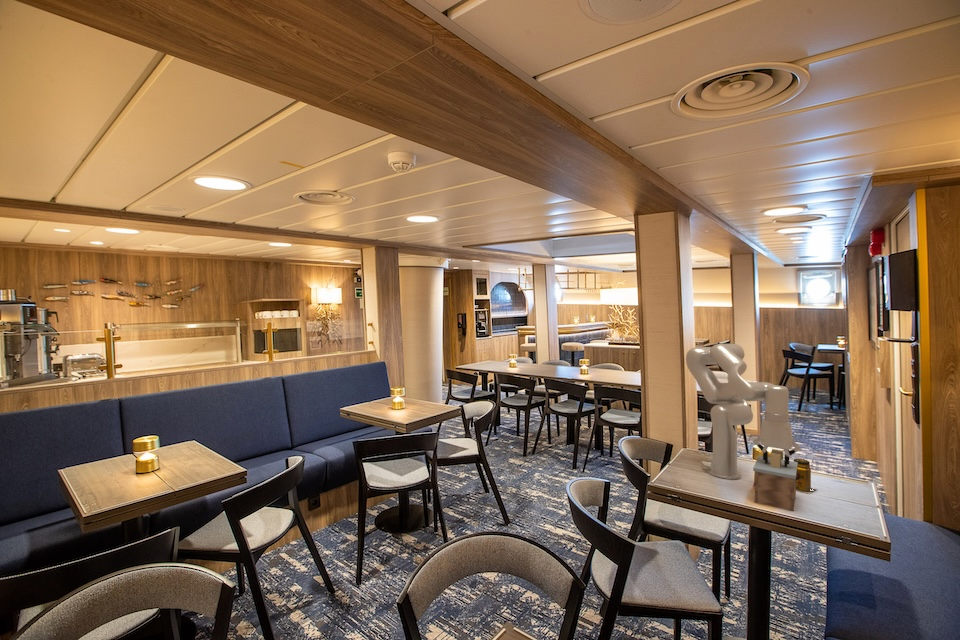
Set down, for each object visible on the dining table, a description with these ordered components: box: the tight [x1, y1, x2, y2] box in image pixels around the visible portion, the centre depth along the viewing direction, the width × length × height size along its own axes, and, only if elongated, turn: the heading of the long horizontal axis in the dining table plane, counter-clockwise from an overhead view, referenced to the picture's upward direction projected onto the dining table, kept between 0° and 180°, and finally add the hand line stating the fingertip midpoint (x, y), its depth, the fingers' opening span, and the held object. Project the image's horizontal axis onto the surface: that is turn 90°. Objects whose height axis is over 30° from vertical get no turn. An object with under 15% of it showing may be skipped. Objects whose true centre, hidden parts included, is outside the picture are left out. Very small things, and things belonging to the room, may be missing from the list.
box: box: [754, 471, 797, 512], centre depth 167 cm, size 12×18×12 cm, turn 142°
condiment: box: [793, 458, 818, 495], centre depth 177 cm, size 7×8×12 cm
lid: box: [752, 448, 798, 479], centre depth 167 cm, size 13×19×7 cm
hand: (775, 463), depth 167 cm, fingers open, 5 cm apart
